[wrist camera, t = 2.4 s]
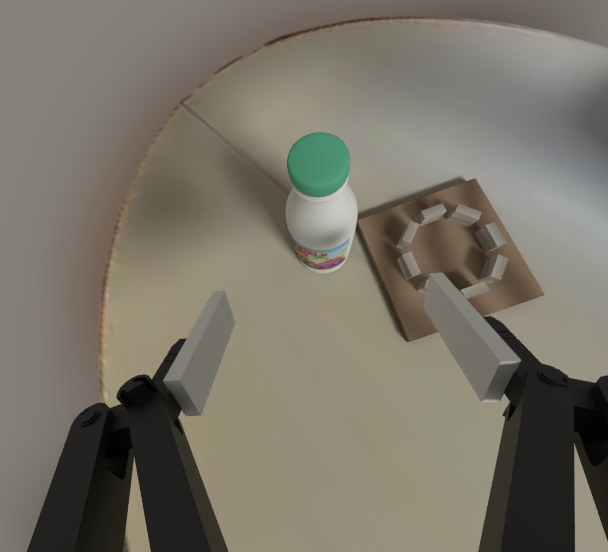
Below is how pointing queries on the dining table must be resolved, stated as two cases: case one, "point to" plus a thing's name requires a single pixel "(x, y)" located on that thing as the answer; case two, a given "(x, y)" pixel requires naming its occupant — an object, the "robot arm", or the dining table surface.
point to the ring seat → (445, 255)
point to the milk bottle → (320, 202)
